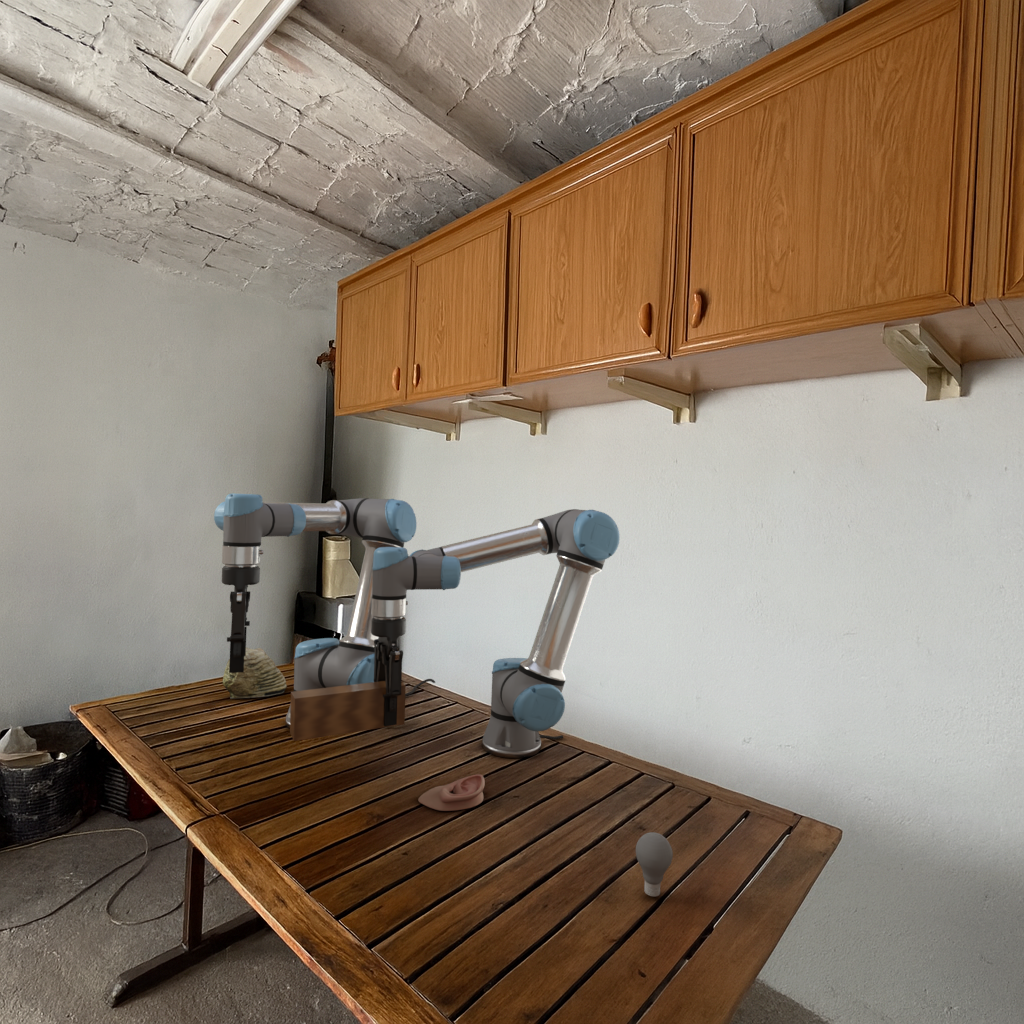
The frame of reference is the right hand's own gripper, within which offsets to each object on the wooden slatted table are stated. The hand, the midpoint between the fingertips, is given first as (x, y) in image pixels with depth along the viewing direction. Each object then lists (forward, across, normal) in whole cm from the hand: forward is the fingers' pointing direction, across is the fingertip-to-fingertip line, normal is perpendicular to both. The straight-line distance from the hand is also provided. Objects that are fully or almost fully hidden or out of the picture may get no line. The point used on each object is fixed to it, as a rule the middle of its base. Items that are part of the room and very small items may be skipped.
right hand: (386, 720), depth 141 cm
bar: (+1, 0, +8) cm, 8 cm away
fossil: (+14, +75, +19) cm, 78 cm away
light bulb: (+15, -57, -28) cm, 65 cm away
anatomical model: (+14, -13, -11) cm, 22 cm away
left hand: (-13, +11, +30) cm, 34 cm away
